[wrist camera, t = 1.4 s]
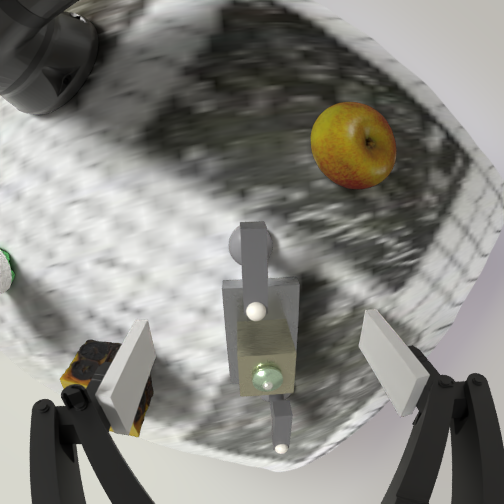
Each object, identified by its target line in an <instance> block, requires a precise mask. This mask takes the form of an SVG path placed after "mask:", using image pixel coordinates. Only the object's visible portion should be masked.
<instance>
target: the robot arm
mask: <svg viewBox="0 0 504 504" xmlns="http://www.w3.org/2000/svg"><path fill="white" fill-rule="evenodd" d="M77 1H79V0H0V95H1V96H2V97H3V98H4V99H6V100H7V101H8V102H9V103H11V104H12V105H13V106H15V107H16V108H17V109H18V110H19V111H21V112H24V113H29V114H36V115H41V114H47V113H50V112H52V111H54V110H56V109H58V108H60V107H61V106H62V105H64V104H65V103H66V102H68V101H69V100H70V99H71V98H72V97H73V96H74V95H75V94H76V93H77V91H78V90H79V89H80V88H81V86H82V85H83V84H84V82H85V81H86V79H87V77H88V76H89V74H90V72H91V70H92V68H93V65H94V63H95V60H96V57H97V52H98V45H99V39H98V34H97V31H96V28H95V27H94V25H93V24H92V23H91V22H89V21H88V20H87V19H86V18H85V17H83V16H81V15H79V14H76V13H69V12H63V11H64V10H66V9H67V8H69V7H70V6H71V5H73V4H74V3H76V2H77ZM359 348H360V350H361V351H362V353H363V355H364V356H365V358H366V360H367V361H368V363H369V365H370V366H371V368H372V370H373V371H374V373H375V375H376V377H377V378H378V380H379V382H380V383H381V385H382V387H383V389H384V390H385V392H386V394H387V396H388V397H389V399H390V401H391V403H392V404H393V406H394V408H395V410H396V412H397V413H398V415H399V417H404V416H407V415H410V414H412V413H413V411H414V409H415V407H417V408H418V410H419V412H418V414H417V416H416V418H415V420H414V422H413V425H414V426H413V429H412V432H411V435H410V438H409V440H408V443H407V446H406V448H405V451H404V454H403V456H402V459H401V461H400V464H399V466H398V468H397V471H396V473H395V475H394V478H393V480H392V482H391V484H390V486H389V488H388V490H387V492H386V494H385V497H384V498H383V500H382V502H381V504H429V499H430V497H431V494H432V491H433V488H434V485H435V482H436V479H437V476H438V472H439V469H440V465H441V462H442V458H443V454H444V450H445V446H446V442H447V437H448V432H449V427H450V431H451V444H452V445H451V446H452V501H451V504H504V447H503V442H502V436H501V432H500V426H499V422H498V418H497V414H496V410H495V406H494V402H493V398H492V395H491V392H490V388H489V385H488V381H487V380H486V378H485V377H484V376H483V375H480V374H477V373H473V374H470V375H469V376H468V378H467V380H466V381H465V382H464V381H463V382H455V381H454V379H452V378H451V377H449V376H447V375H440V374H439V373H438V372H437V370H436V369H435V368H434V367H433V365H432V364H431V363H430V362H429V361H428V360H427V358H426V357H425V356H424V355H423V353H422V352H421V351H420V350H419V349H417V348H416V347H414V346H413V345H412V346H407V345H406V344H405V343H404V342H403V340H402V339H401V338H400V337H399V336H398V334H397V333H396V332H395V331H394V330H393V328H392V327H391V326H390V325H389V324H388V322H387V321H386V320H385V319H384V318H383V317H382V315H381V314H380V313H379V312H378V311H377V309H371V310H365V315H364V321H363V326H362V331H361V337H360V342H359ZM155 358H156V354H155V350H154V345H153V341H152V337H151V332H150V328H149V323H148V320H143V319H136V320H135V322H134V324H133V326H132V327H131V329H130V331H129V333H128V334H127V336H126V338H125V340H124V341H123V343H122V345H121V347H120V349H119V350H118V352H117V354H116V356H115V358H114V360H113V361H112V362H104V363H102V364H101V365H100V366H99V367H98V368H97V370H96V371H95V373H94V375H93V377H92V378H91V379H92V380H90V382H89V384H88V386H87V387H86V388H85V387H84V386H82V385H80V384H72V385H69V386H67V387H65V388H64V389H63V391H62V393H61V398H62V400H63V402H64V404H65V405H66V406H55V405H54V403H53V402H52V401H51V400H49V399H42V400H39V401H38V402H36V403H35V404H34V406H33V408H32V416H31V430H30V482H31V483H30V484H31V497H32V504H86V501H85V497H84V492H83V486H82V481H81V475H80V469H79V464H78V456H77V447H76V444H82V446H83V448H84V451H85V453H86V455H87V457H88V459H89V462H90V464H91V466H92V467H93V470H94V471H95V473H96V476H97V478H98V479H99V481H100V483H101V485H102V487H103V489H104V490H105V492H106V494H107V496H108V497H109V499H110V501H111V502H112V504H155V503H154V501H153V500H152V499H151V498H150V496H149V495H148V493H147V492H146V491H145V489H144V488H143V486H142V485H141V484H140V482H139V481H138V479H137V478H136V477H135V475H134V473H133V472H132V470H131V469H130V467H129V466H128V464H127V463H126V461H125V459H124V458H123V457H122V455H121V453H120V451H119V450H118V448H117V446H116V445H115V443H114V441H113V440H112V437H111V436H110V434H109V430H110V427H112V429H113V431H114V433H117V434H124V435H129V433H130V430H131V427H132V424H133V421H134V418H135V415H136V412H137V409H138V406H139V403H140V400H141V397H142V394H143V391H144V388H145V385H146V383H147V380H148V377H149V374H150V371H151V369H152V366H153V363H154V360H155Z"/></svg>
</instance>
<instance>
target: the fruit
mask: <svg viewBox="0 0 504 504" xmlns="http://www.w3.org/2000/svg"><path fill="white" fill-rule="evenodd" d="M311 148H312V153H313V157H314V159H315V161H316V163H317V165H318V167H319V168H320V170H321V171H322V172H323V173H324V174H325V175H326V176H327V177H328V178H329V179H330V180H332V181H333V182H335V183H336V184H338V185H340V186H343V187H345V188H349V189H365V188H369V187H372V186H375V185H377V184H379V183H380V182H382V181H383V180H384V179H386V177H387V176H388V175H389V174H390V172H391V171H392V169H393V166H394V164H395V160H396V143H395V139H394V135H393V132H392V130H391V128H390V126H389V124H388V122H387V121H386V119H385V118H384V117H383V116H382V115H381V114H380V113H379V112H378V111H376V110H375V109H373V108H372V107H370V106H368V105H365V104H361V103H358V102H343V103H338V104H335V105H333V106H330V107H329V108H327V109H326V110H325V111H324V112H322V113H321V114H320V115H319V116H318V118H317V120H316V121H315V123H314V125H313V128H312V132H311Z"/></svg>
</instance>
